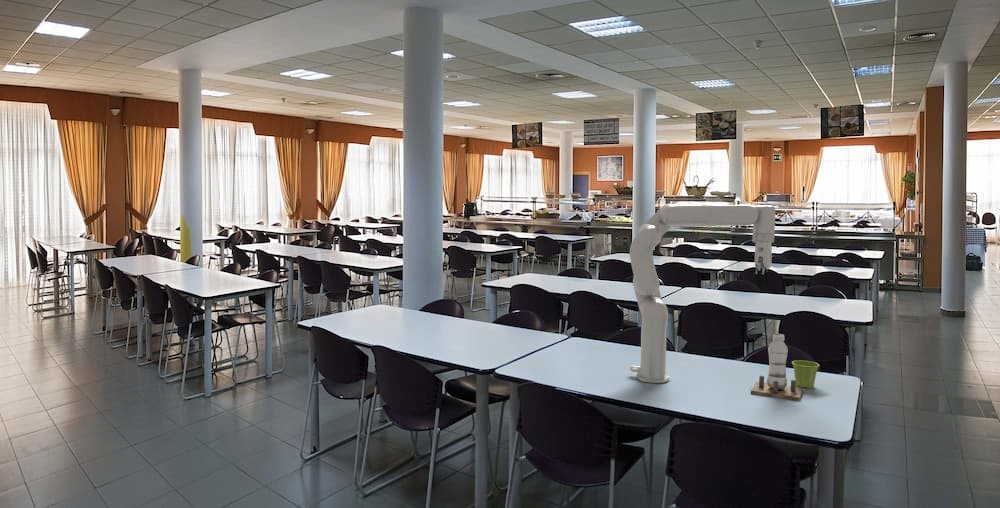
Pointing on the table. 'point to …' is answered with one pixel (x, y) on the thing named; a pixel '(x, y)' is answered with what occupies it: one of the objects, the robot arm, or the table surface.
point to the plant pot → (805, 373)
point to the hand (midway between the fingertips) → (761, 283)
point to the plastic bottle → (777, 362)
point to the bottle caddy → (787, 393)
